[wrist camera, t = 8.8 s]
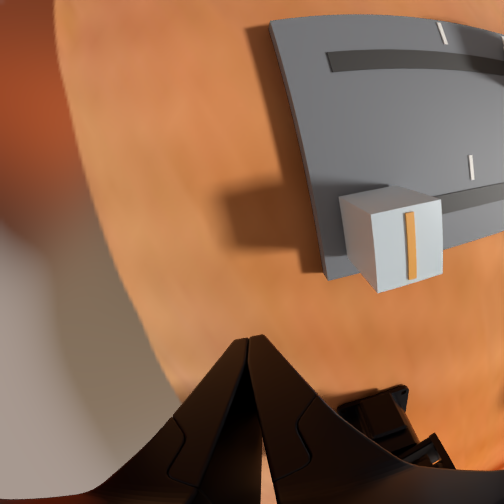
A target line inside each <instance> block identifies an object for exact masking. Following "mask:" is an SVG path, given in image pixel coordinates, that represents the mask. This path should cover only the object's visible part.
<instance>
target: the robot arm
mask: <svg viewBox="0 0 504 504" xmlns="http://www.w3.org/2000/svg"><path fill="white" fill-rule="evenodd" d="M408 393H409V389H408V387H407V386H405V385H404V386H401V387H398V388H395V389H392V390H389V391H386V392H383V393H380V394H377V395H374V396H371V397H368V398H364V399H361V400H358V401H354V402H351V403H347V404H343V405H340V406H339V407H338V408H337V413H336V412H335V411H334V410H333V409H332V408H331V407H330V406H329V405H328V404H327V403H326V402H325V401H324V400H323V399H322V398H321V397H320V396H318V394H317V393H316V392H315V391H314V389H313V388H312V387H311V386H310V385H309V384H308V383H307V382H306V381H305V380H304V379H303V377H302V376H301V375H300V374H299V373H298V372H297V371H296V370H295V369H294V368H293V366H292V365H291V364H290V363H289V362H288V361H287V360H286V359H285V358H284V356H283V355H282V354H281V353H280V352H279V351H278V350H277V349H276V348H275V346H274V345H273V344H272V343H271V342H270V341H269V340H268V338H267V337H266V336H265V335H263V334H261V335H257V336H252V337H250V338H241V339H236V340H234V341H233V342H232V343H231V344H230V346H229V347H228V348H227V350H226V351H225V352H224V353H223V355H222V356H221V357H220V358H219V360H218V361H217V362H216V363H215V365H214V366H213V367H212V368H211V369H210V371H209V372H208V373H207V374H206V376H205V377H204V378H203V379H202V381H201V382H200V383H199V384H198V385H197V387H196V388H195V389H194V390H193V392H192V393H191V394H190V395H189V396H188V398H187V399H186V400H185V401H184V402H183V404H182V405H181V406H180V407H179V408H178V410H177V411H176V412H175V413H174V414H173V417H171V418H170V419H169V420H168V421H167V422H166V424H165V425H164V426H163V427H162V428H161V429H160V430H159V431H158V433H157V434H156V435H155V436H154V437H153V438H152V439H151V440H150V441H149V442H148V443H147V444H146V445H145V446H144V447H143V448H142V449H141V450H140V451H139V452H138V453H137V454H136V455H135V456H133V457H132V458H131V459H130V460H129V461H128V462H127V463H125V464H124V465H123V466H122V467H121V468H120V469H119V470H118V471H117V472H115V473H114V474H113V475H112V476H111V477H110V478H108V479H107V480H106V481H105V482H104V483H102V484H101V485H100V486H98V487H96V488H95V489H93V490H90V491H88V492H85V493H81V494H77V495H69V496H60V497H50V498H36V499H0V504H260V500H261V466H262V437H263V442H264V446H265V451H266V455H267V460H268V464H269V469H270V473H271V478H272V482H273V486H274V491H275V495H276V501H277V504H504V470H495V471H476V470H456V468H455V467H454V465H453V463H452V461H451V459H450V458H449V456H448V454H447V452H446V451H445V449H444V447H443V445H442V444H441V442H440V440H439V439H438V437H437V435H436V434H435V433H433V434H431V435H430V436H429V437H428V438H427V439H425V440H423V441H422V442H420V441H419V439H418V437H417V435H416V433H415V431H414V429H413V427H412V425H411V423H410V421H409V419H408V417H407V416H406V414H405V412H406V406H407V399H408ZM437 460H439V462H437V463H435V464H434V465H432V463H434V462H436V461H437Z"/></svg>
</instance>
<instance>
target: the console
mask: <svg viewBox="0 0 504 504" xmlns="http://www.w3.org/2000/svg"><path fill="white" fill-rule="evenodd" d="M269 32H270V35H271V39H272V42H273V45H274V49H275V52H276V56H277V59H278V63H279V67H280V70H281V74H282V78H283V81H284V85H285V89H286V93H287V97H288V100H289V104H290V108H291V113H292V117H293V121H294V125H295V129H296V133H297V138H298V142H299V147H300V151H301V156H302V160H303V165H304V169H305V174H306V179H307V184H308V189H309V194H310V199H311V204H312V210H313V215H314V220H315V226H316V231H317V237H318V243H319V249H320V255H321V261H322V267H323V273H324V275H325V277H326V278H327V280H328V281H329V280H333V279H338V278H342V277H346V276H349V275H353V274H357V273H360V272H359V271H358V269H357V268H356V267H355V266H354V265H353V264H352V263H351V261H350V260H349V259H348V258H347V250H346V243H345V236H344V229H343V222H342V216H341V209H340V203H339V196H344V195H349V194H354V193H359V192H364V191H369V190H374V189H379V188H384V187H390V186H395V185H397V186H400V187H403V188H407V189H410V190H413V191H417V192H420V193H423V194H426V195H429V196H432V197H435V198H438V199H441V208H442V229H443V250H444V249H448V248H451V247H454V246H458V245H461V244H464V243H468V242H471V241H474V240H477V239H480V238H483V237H487V236H490V235H493V234H496V233H499V232H502V231H504V48H503V47H504V35H502V34H499V33H495V32H491V31H488V30H484V29H479V28H475V27H471V26H466V25H461V24H456V23H450V22H445V21H438V20H431V19H423V18H415V17H404V16H390V15H323V16H309V17H298V18H289V19H281V20H273V21H270V24H269Z"/></svg>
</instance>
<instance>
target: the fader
mask: <svg viewBox="0 0 504 504" xmlns="http://www.w3.org/2000/svg"><path fill="white" fill-rule="evenodd" d="M339 203H340V209H341V216H342V222H343V229H344V236H345V243H346V250H347V258H348V259H349V260H350V261H351V263H352V264H353V265H354V266H355V267H356V268H357V269H358V271H359V272H360V273H361V274H362V275H363V276H364V278H365V279H366V280H367V281H368V282H369V284H370V285H371V286H372V287H373V288H374V289H375V291H376V292H377V293H381V292H384V291H388V290H391V289H394V288H398V287H401V286H405V285H408V284H411V283H414V282H418V281H421V280H424V279H427V278H430V277H433V276H437V275H440V274H443V229H442V208H441V199H438V198H435V197H432V196H429V195H426V194H423V193H420V192H417V191H413V190H410V189H407V188H403V187H400V186H397V185H395V186H390V187H384V188H379V189H374V190H369V191H364V192H359V193H354V194H349V195H344V196H339Z"/></svg>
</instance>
